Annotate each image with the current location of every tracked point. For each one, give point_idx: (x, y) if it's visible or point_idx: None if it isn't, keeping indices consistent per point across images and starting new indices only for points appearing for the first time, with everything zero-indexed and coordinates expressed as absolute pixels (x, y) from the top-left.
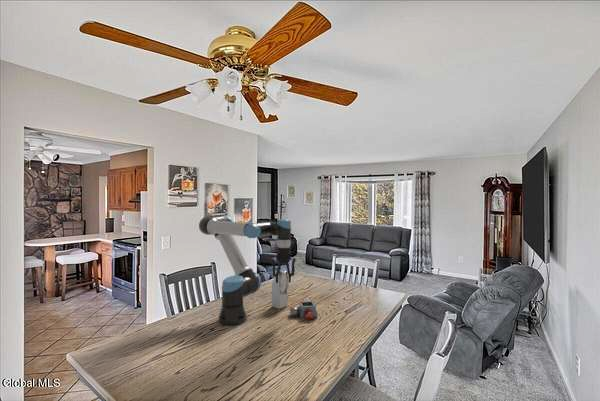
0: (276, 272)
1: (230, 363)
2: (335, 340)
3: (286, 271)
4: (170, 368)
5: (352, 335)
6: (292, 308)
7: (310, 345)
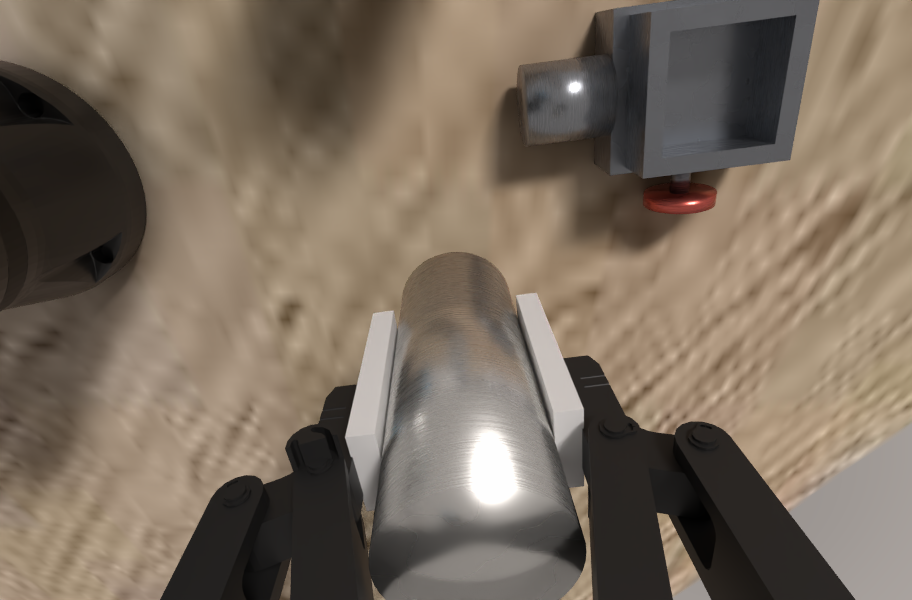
0: (295, 530)
1: None
2: None
3: (562, 535)
4: None
5: (846, 400)
6: (547, 121)
7: None
